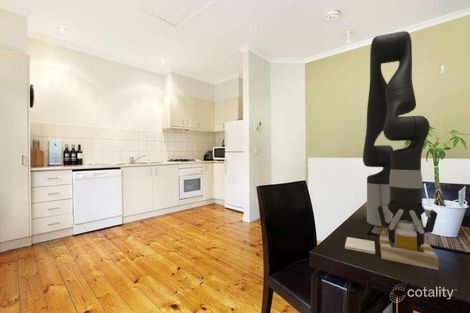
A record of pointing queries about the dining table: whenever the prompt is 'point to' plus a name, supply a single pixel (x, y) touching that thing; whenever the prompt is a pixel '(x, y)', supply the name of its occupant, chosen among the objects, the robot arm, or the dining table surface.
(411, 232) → the supplement bottle
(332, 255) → the dining table surface
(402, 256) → the oak holder
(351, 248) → the cream tile
